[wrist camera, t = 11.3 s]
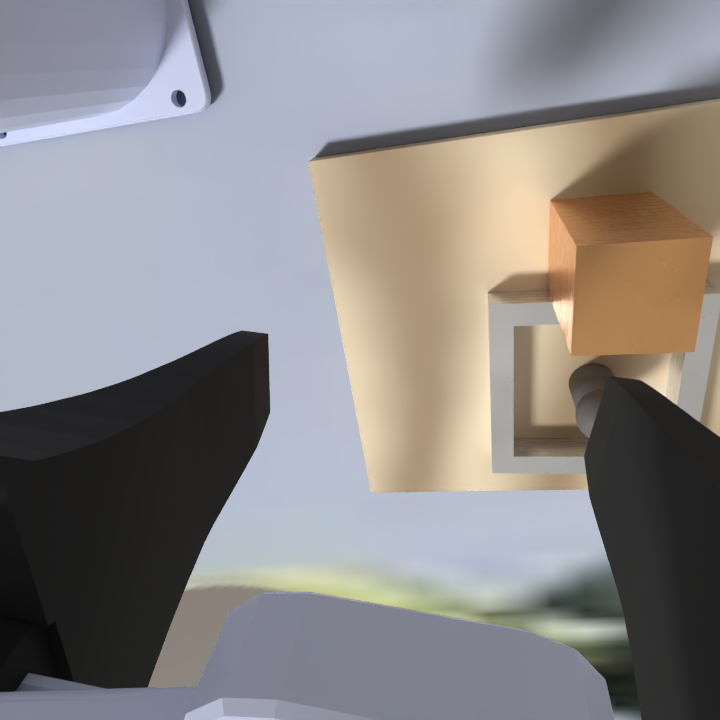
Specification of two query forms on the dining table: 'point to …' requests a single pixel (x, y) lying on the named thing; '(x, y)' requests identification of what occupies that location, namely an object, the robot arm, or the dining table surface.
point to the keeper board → (490, 283)
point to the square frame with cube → (608, 311)
